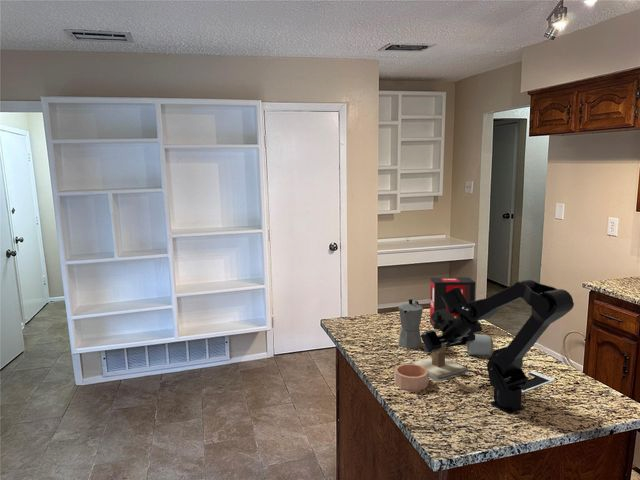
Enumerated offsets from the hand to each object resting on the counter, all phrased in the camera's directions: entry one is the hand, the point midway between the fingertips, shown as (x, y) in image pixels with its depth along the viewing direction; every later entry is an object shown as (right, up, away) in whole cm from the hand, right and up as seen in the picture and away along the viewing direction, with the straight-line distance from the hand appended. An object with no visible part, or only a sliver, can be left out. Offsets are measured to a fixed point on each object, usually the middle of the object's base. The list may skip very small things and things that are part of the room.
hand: (435, 348), depth 149 cm
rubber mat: (+1, -7, 0) cm, 7 cm away
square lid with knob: (+1, -6, 0) cm, 6 cm away
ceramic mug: (+18, -5, +12) cm, 23 cm away
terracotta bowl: (-10, -8, -11) cm, 17 cm away
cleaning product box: (+18, -1, +43) cm, 47 cm away
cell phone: (+26, -8, -10) cm, 29 cm away
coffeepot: (-4, -4, +22) cm, 23 cm away
